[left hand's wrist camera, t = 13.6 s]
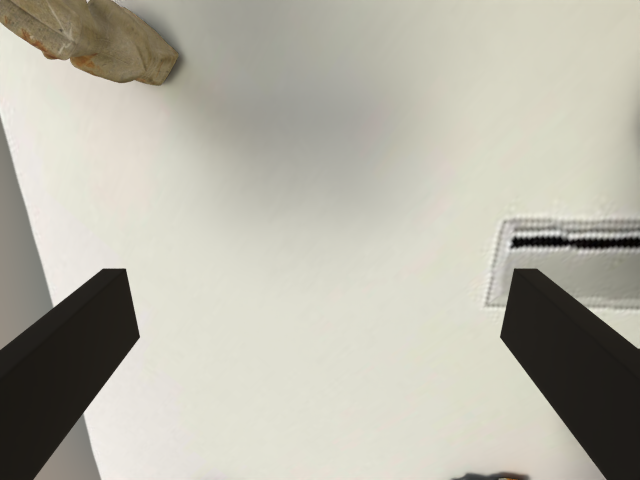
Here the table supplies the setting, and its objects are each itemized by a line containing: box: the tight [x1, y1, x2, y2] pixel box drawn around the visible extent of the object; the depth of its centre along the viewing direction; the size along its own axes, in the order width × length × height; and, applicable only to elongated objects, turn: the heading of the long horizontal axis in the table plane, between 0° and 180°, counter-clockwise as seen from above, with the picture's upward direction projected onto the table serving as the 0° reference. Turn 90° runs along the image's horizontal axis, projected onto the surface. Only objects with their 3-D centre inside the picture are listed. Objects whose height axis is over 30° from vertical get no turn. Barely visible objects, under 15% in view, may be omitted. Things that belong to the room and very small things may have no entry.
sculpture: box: [0, 0, 178, 86], centre depth 30 cm, size 6×7×15 cm
